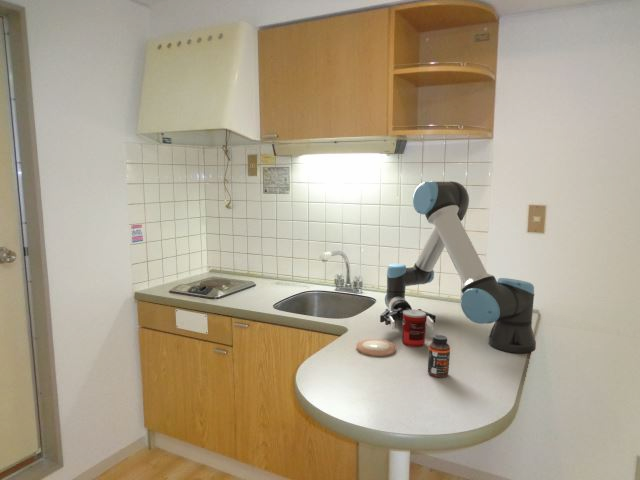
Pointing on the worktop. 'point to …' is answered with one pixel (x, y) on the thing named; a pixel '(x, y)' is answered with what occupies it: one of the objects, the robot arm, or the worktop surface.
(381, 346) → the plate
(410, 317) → the canned food
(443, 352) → the supplement bottle
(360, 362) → the worktop surface
